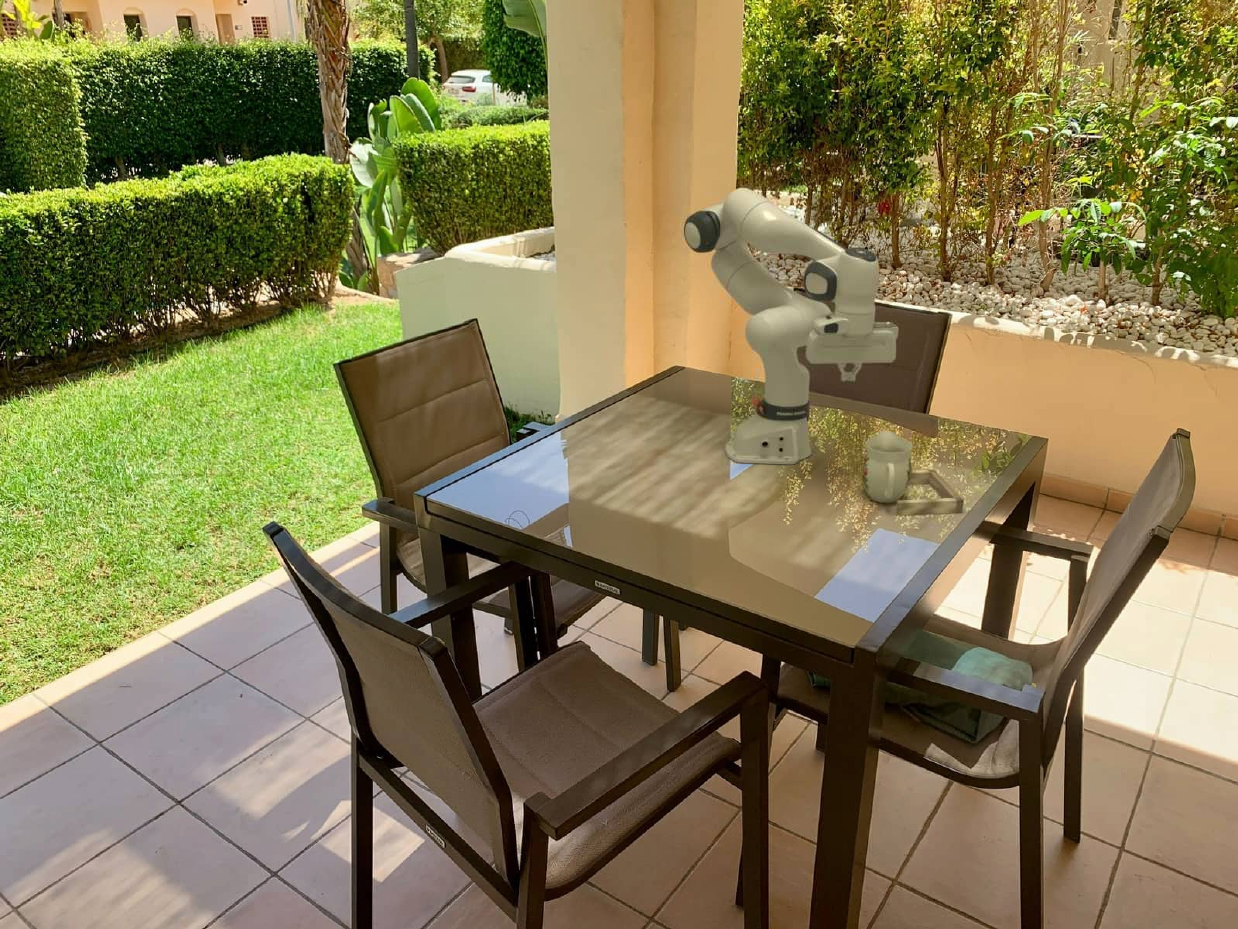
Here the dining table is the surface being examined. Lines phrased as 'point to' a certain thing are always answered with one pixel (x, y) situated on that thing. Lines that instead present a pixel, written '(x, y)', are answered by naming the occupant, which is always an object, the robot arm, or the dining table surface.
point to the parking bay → (931, 506)
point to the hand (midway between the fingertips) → (847, 380)
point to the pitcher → (886, 467)
